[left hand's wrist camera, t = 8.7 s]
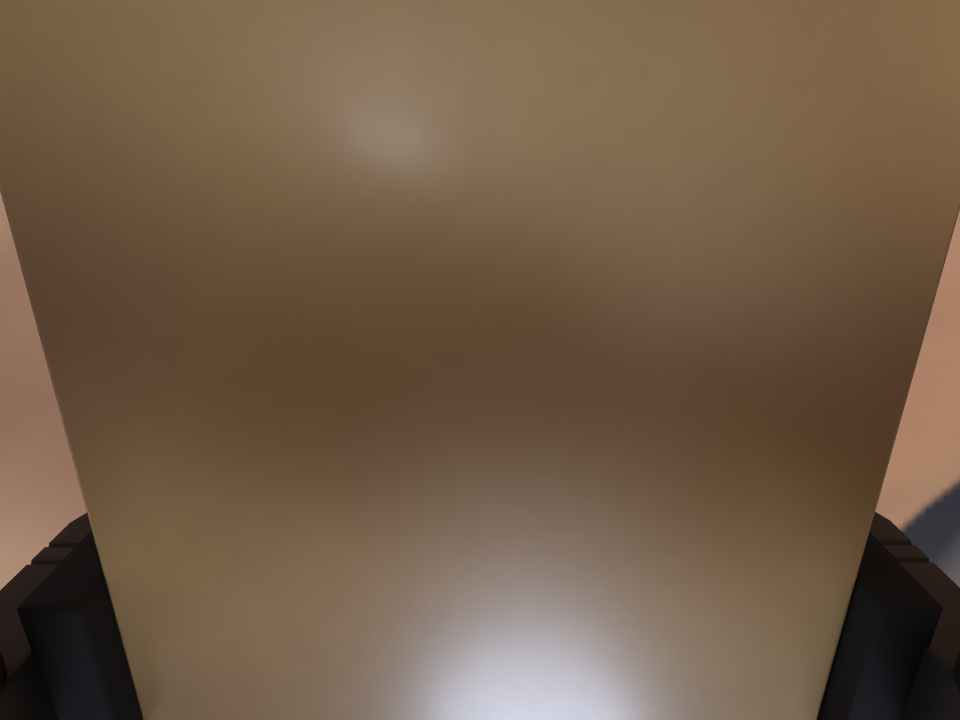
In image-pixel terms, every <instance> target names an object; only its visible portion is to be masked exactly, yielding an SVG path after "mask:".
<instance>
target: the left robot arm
mask: <svg viewBox="0 0 960 720" xmlns="http://www.w3.org/2000/svg"><path fill="white" fill-rule="evenodd" d="M0 720H143V717H142V713H141V709H140V706H139V702H138V698H137V695H136V691H135V687H134V684H133V680H132V676H131V672H130V669H129V665H128V661H127V658H126V654H125V650H124V647H123V643H122V639H121V635H120V632H119V628H118V624H117V621H116V617H115V613H114V610H113V606H112V602H111V598H110V595H109V591H108V587H107V584H106V580H105V576H104V572H103V569H102V565H101V561H100V558H99V554H98V550H97V547H96V543H95V539H94V535H93V532H92V528H91V524H90V521H89V517H88V513H86V514H84V515H82V516H81V517H79V518H77V519H76V520H74V521H72V522H71V523H69V524H68V525H67V526H66V527H65V528H64V529H63V530H62V531H61V532H60V533H59V534H58V535H57V536H56V537H55V538H54V539H53V540H52V541H51V542H50V543H49V547H45V548H44V549H43V550H42V551H41V552H40V553H38V554H37V555H36V556H35V557H34V558H33V559H32V560H31V565H26V566H25V567H24V568H23V569H22V570H21V571H20V572H19V573H18V574H17V575H16V576H15V577H14V578H13V579H12V580H11V581H10V582H9V583H8V584H7V585H5V586H4V587H3V588H2V589H1V590H0ZM817 720H960V588H959V587H958V586H957V585H956V584H955V583H954V582H953V581H952V580H951V579H950V578H949V577H948V576H947V575H946V574H945V573H944V572H943V571H942V570H941V569H940V568H939V567H937V565H935V564H934V563H930V562H929V558H928V557H927V556H926V555H925V554H924V553H923V552H922V551H921V550H920V549H919V548H918V547H917V546H916V545H912V544H911V540H910V539H908V538H907V537H906V536H905V535H904V534H903V533H902V532H901V531H900V530H899V529H898V528H897V527H896V526H895V525H894V524H893V523H892V522H891V521H890V520H888V519H886V518H885V517H883V516H881V515H880V514H878V513H876V512H875V513H874V517H873V520H872V524H871V527H870V531H869V535H868V538H867V542H866V545H865V549H864V552H863V556H862V560H861V563H860V567H859V570H858V574H857V577H856V581H855V585H854V588H853V592H852V595H851V599H850V602H849V606H848V610H847V613H846V617H845V620H844V624H843V627H842V631H841V635H840V638H839V642H838V645H837V649H836V652H835V656H834V660H833V663H832V667H831V670H830V674H829V677H828V681H827V685H826V688H825V692H824V695H823V699H822V702H821V706H820V710H819V713H818V717H817Z"/></svg>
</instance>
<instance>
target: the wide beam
mask: <svg viewBox="0 0 960 720" xmlns="http://www.w3.org/2000/svg"><path fill="white" fill-rule="evenodd" d="M0 191H1V195H2V198H3V202H4V206H5V210H6V213H7V217H8V221H9V224H10V228H11V232H12V235H13V239H14V243H15V247H16V250H17V254H18V258H19V261H20V265H21V269H22V272H23V276H24V280H25V284H26V287H27V291H28V295H29V298H30V302H31V306H32V310H33V313H34V317H35V321H36V324H37V328H38V332H39V335H40V339H41V343H42V347H43V350H44V354H45V358H46V361H47V365H48V369H49V372H50V376H51V380H52V384H53V387H54V391H55V395H56V398H57V402H58V406H59V410H60V413H61V417H62V421H63V424H64V428H65V432H66V435H67V439H68V443H69V447H70V450H71V454H72V458H73V461H74V465H75V469H76V472H77V476H78V480H79V484H80V487H81V491H82V495H83V498H84V502H85V506H86V510H87V513H88V517H89V521H90V524H91V528H92V532H93V535H94V539H95V543H96V547H97V550H98V554H99V558H100V561H101V565H102V569H103V572H104V576H105V580H106V584H107V587H108V591H109V595H110V598H111V602H112V606H113V610H114V613H115V617H116V621H117V624H118V628H119V632H120V635H121V639H122V643H123V647H124V650H125V654H126V658H127V661H128V665H129V669H130V672H131V676H132V680H133V684H134V687H135V691H136V695H137V698H138V702H139V706H140V709H141V713H142V717H143V720H817V717H818V713H819V710H820V706H821V702H822V699H823V695H824V692H825V688H826V685H827V681H828V677H829V674H830V670H831V667H832V663H833V660H834V656H835V652H836V649H837V645H838V642H839V638H840V635H841V631H842V627H843V624H844V620H845V617H846V613H847V610H848V606H849V602H850V599H851V595H852V592H853V588H854V585H855V581H856V577H857V574H858V570H859V567H860V563H861V560H862V556H863V552H864V549H865V545H866V542H867V538H868V535H869V531H870V527H871V524H872V520H873V517H874V513H875V510H876V506H877V502H878V499H879V495H880V492H881V488H882V485H883V481H884V477H885V474H886V470H887V467H888V463H889V460H890V456H891V452H892V449H893V445H894V442H895V438H896V435H897V431H898V427H899V424H900V420H901V417H902V413H903V410H904V406H905V402H906V399H907V395H908V392H909V388H910V385H911V381H912V377H913V374H914V370H915V367H916V363H917V360H918V356H919V352H920V349H921V345H922V342H923V338H924V335H925V331H926V327H927V324H928V320H929V317H930V313H931V310H932V306H933V302H934V299H935V295H936V292H937V288H938V285H939V281H940V277H941V274H942V270H943V267H944V263H945V260H946V256H947V252H948V249H949V245H950V242H951V238H952V235H953V231H954V227H955V224H956V220H957V217H958V213H959V210H960V0H0Z"/></svg>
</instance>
